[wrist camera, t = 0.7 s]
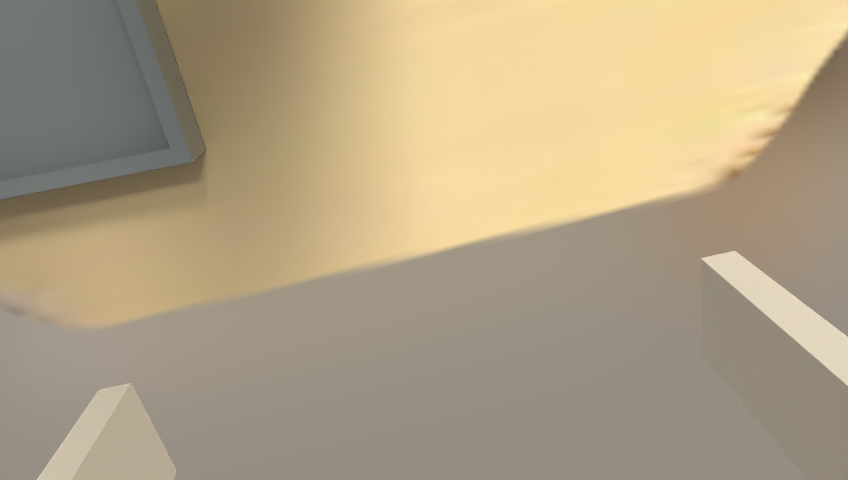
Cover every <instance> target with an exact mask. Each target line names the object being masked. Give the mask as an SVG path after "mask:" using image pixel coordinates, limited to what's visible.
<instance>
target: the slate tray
mask: <svg viewBox="0 0 848 480" xmlns="http://www.w3.org/2000/svg"><path fill="white" fill-rule="evenodd" d="M205 150H206V148H205V145H204V142H203V139H202V136H201V133H200V130H199V127H198V124H197V121H196V118H195V115H194V113H193V110H192V107H191V104H190V101H189V98H188V95H187V92H186V89H185V86H184V83H183V80H182V77H181V74H180V71H179V68H178V65H177V62H176V59H175V56H174V53H173V50H172V47H171V45H170V42H169V39H168V36H167V33H166V30H165V27H164V24H163V21H162V18H161V15H160V12H159V9H158V6H157V3H156V0H0V199H5V198H11V197H16V196H21V195H26V194H31V193H36V192H41V191H47V190H52V189H57V188H62V187H67V186H72V185H77V184H83V183H88V182H93V181H98V180H103V179H108V178H113V177H119V176H124V175H129V174H134V173H139V172H144V171H150V170H155V169H160V168H165V167H170V166H175V165H180V164H186V163H191V162H194V161H195V160H196V159H197V158H198V157H199V156H200V155H201V154H202V153H203V152H204V151H205Z"/></svg>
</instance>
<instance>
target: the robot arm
mask: <svg viewBox="0 0 848 480" xmlns="http://www.w3.org/2000/svg"><path fill="white" fill-rule="evenodd" d="M701 291H702V292H701V294H702V356H703V357H702V358H703V360H704V361H705V362H706V363H707V364H708V365H709V367H710V368H711V369H712V370H713V371H714V373H715V374H716V375H717V376H718V377H719V378H720V380H721V381H722V382H723V383H724V384H725V385H726V387H727V388H728V389H729V390H730V391H731V392H732V394H733V395H734V396H735V397H736V398H737V400H738V401H739V402H740V403H741V404H742V405H743V406H744V408H745V409H746V410H747V411H748V412H749V414H750V415H751V416H752V417H753V418H754V419H755V421H756V422H757V423H758V424H759V425H760V427H761V428H762V429H763V430H764V431H765V432H766V434H767V435H768V436H769V437H770V438H771V439H772V441H773V442H774V443H775V444H776V445H777V446H778V448H779V449H780V450H781V451H782V452H783V453H784V455H785V456H786V457H787V458H788V459H789V461H790V462H791V463H792V464H793V465H794V466H795V468H796V469H797V470H798V471H799V472H800V473H801V475H802V476H803V477H804V478H805V479H806V480H848V337H847V336H846V335H844V334H843V333H841V332H840V331H839V330H838V329H836V328H835V327H834V326H833V325H831V324H830V323H828V322H827V321H826V320H825V319H823V318H822V317H821V316H819V315H818V314H817V313H815V312H814V311H813V310H812V309H810V308H809V307H808V306H806V305H805V304H804V303H802V302H801V301H800V300H798V299H797V298H796V297H795V296H793V295H792V294H791V293H789V292H788V291H787V290H785V289H784V288H783V287H781V286H780V285H779V284H777V283H776V282H775V281H774V280H772V279H771V278H770V277H768V276H767V275H765V274H764V273H763V272H761V270H759V269H758V268H756V267H755V266H754V265H753V264H751V263H750V262H749V261H747V260H746V259H745V258H743V257H742V256H741V255H739V254H738V253H737V252H735V251H733V252H728V253H723V254H719V255H714V256H710V257H705V258H701ZM176 472H177V471H176V469H175V467H174V465H173V463H172V461H171V459H170V457H169V455H168V453H167V451H166V449H165V447H164V445H163V444H162V442H161V440H160V438H159V436H158V434H157V432H156V430H155V428H154V426H153V424H152V422H151V420H150V418H149V416H148V415H147V413H146V411H145V409H144V407H143V405H142V403H141V401H140V399H139V397H138V395H137V393H136V391H135V389H134V387H133V385H132V384H131V383H128V384H123V385H118V386H114V387H109V388H105V389H100V390H98V391H97V393H96V394H95V396H94V397H93V399H92V400H91V402H90V403H89V405H88V406H87V408H86V409H85V410H84V412H83V413H82V415H81V416H80V418H79V419H78V421H77V422H76V424H75V425H74V426H73V428H72V429H71V431H70V432H69V434H68V435H67V437H66V438H65V440H64V441H63V443H62V444H61V445H60V447H59V448H58V450H57V451H56V453H55V454H54V456H53V457H52V459H51V460H50V461H49V463H48V464H47V466H46V467H45V469H44V470H43V472H42V473H41V475H40V476H39V478H38V479H37V480H173V479H174V477H175V474H176Z"/></svg>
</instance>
